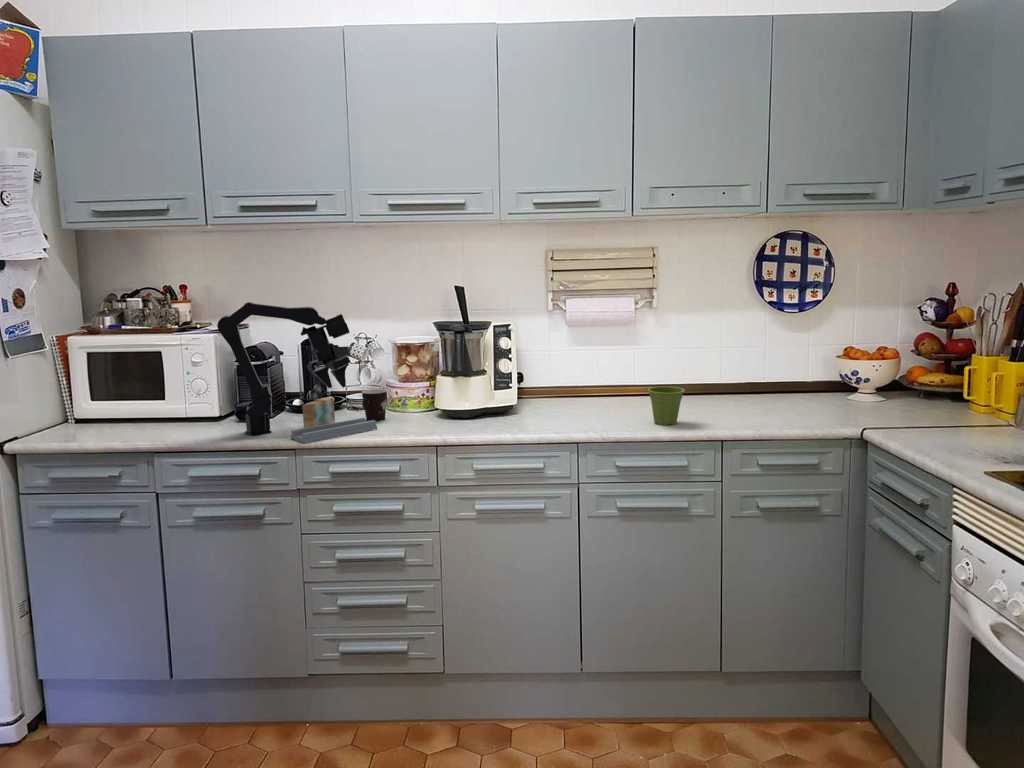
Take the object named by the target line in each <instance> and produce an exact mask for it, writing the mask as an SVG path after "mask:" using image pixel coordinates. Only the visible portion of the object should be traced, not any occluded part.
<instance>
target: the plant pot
mask: <svg viewBox="0 0 1024 768" xmlns="http://www.w3.org/2000/svg"><path fill="white" fill-rule="evenodd" d="M647 391H648V392H649V393H648V394H649V398H650V402H651V408H652V416H653V422H654V423H655V424H657V425H660V426H669V425H676V424H677V423H678V417H679V412H680V407H681V401H682V399H683V394H684V392H685V391H686V389H684V388H681V387H677V386H654V387H653V386H652V387H649V388H647Z"/></svg>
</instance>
